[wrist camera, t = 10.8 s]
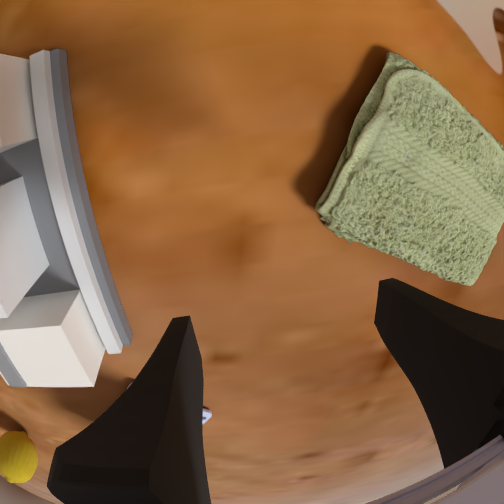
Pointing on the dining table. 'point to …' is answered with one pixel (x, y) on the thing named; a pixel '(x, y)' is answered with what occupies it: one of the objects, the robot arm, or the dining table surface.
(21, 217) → the block
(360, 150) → the washcloth
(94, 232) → the board
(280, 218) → the dining table surface
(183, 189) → the dining table surface
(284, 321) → the dining table surface
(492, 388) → the robot arm
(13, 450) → the lemon
